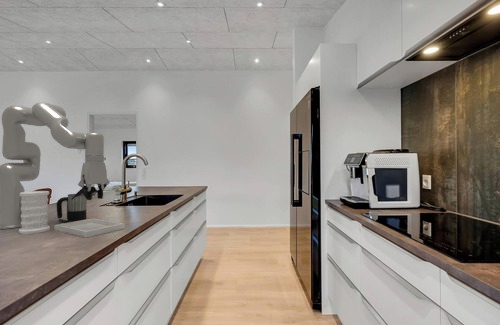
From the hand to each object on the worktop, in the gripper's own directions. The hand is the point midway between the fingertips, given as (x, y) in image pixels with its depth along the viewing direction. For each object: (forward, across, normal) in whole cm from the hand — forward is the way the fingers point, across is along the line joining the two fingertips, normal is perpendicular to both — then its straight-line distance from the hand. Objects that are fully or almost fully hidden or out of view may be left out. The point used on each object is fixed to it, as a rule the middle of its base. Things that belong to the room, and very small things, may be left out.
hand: (94, 198), depth 129 cm
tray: (+15, 0, -4) cm, 15 cm away
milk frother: (+15, -4, -26) cm, 30 cm away
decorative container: (+15, +14, -24) cm, 32 cm away
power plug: (+1, +2, -6) cm, 6 cm away
